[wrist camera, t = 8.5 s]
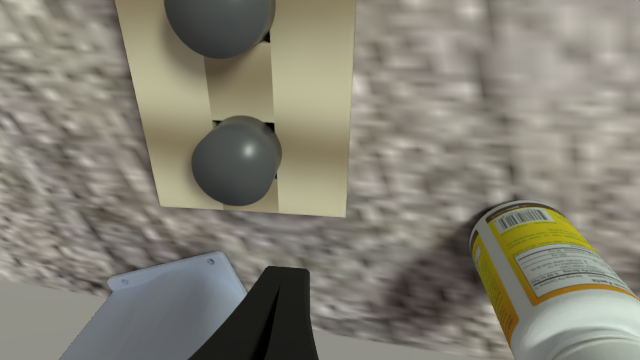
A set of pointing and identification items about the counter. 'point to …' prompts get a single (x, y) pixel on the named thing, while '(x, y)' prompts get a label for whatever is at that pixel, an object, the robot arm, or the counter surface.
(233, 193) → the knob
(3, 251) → the counter surface
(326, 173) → the knob mount
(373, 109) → the counter surface
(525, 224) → the supplement bottle
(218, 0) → the knob middle
